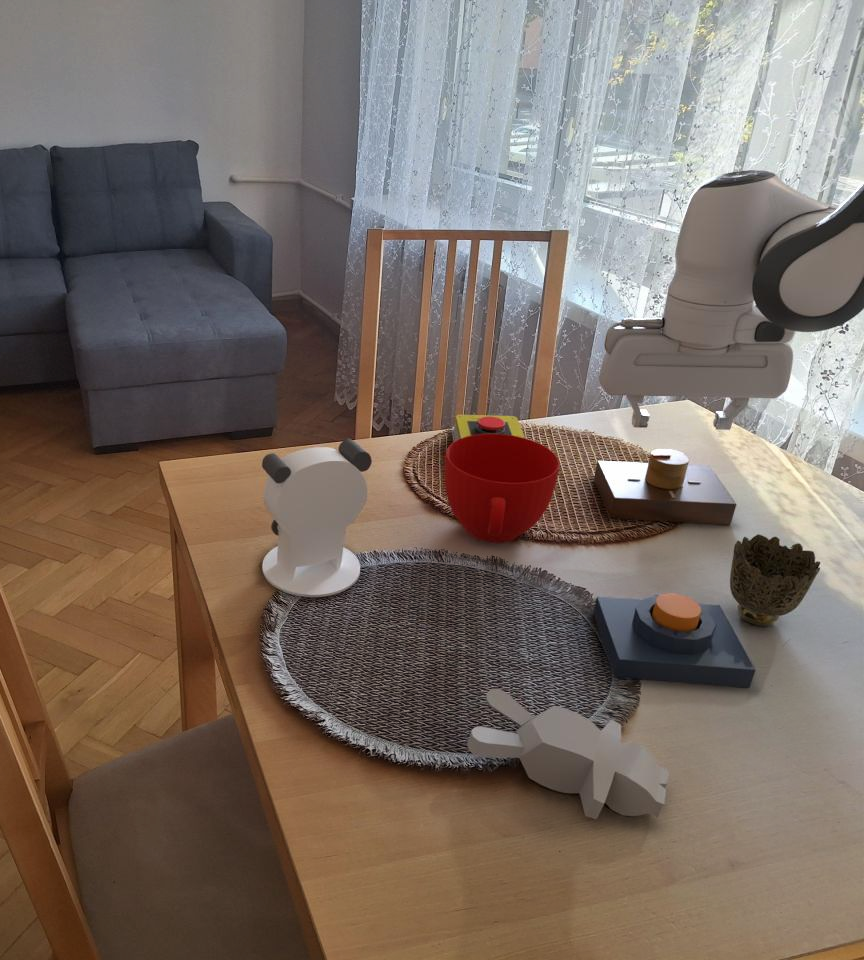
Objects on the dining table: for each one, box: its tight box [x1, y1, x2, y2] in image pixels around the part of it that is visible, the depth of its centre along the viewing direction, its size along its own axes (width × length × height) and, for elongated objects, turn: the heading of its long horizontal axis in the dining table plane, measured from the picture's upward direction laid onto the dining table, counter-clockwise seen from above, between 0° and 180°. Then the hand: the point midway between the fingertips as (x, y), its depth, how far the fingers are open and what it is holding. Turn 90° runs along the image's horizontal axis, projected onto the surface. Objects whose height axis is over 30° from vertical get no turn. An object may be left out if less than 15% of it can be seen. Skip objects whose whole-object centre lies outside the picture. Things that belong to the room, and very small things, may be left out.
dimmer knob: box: [645, 448, 690, 489], centre depth 108 cm, size 4×4×4 cm
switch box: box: [592, 594, 756, 689], centre depth 85 cm, size 12×10×4 cm
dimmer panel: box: [593, 460, 737, 526], centre depth 110 cm, size 14×10×3 cm
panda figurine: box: [261, 438, 373, 598], centre depth 97 cm, size 12×11×15 cm
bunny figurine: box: [466, 688, 670, 820], centre depth 71 cm, size 10×5×15 cm
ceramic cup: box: [444, 434, 561, 544], centre depth 102 cm, size 13×17×10 cm
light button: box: [652, 592, 701, 632], centre depth 84 cm, size 4×4×2 cm
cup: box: [729, 533, 821, 627], centre depth 88 cm, size 8×7×8 cm
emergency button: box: [451, 414, 526, 442], centre depth 123 cm, size 9×4×15 cm
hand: (679, 426), depth 106 cm, fingers open, 8 cm apart
